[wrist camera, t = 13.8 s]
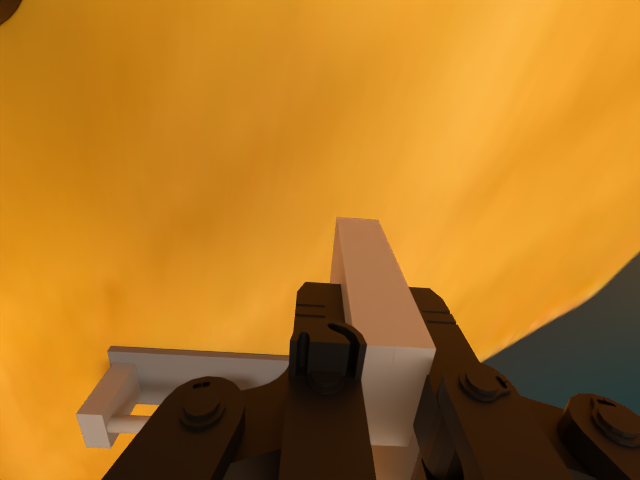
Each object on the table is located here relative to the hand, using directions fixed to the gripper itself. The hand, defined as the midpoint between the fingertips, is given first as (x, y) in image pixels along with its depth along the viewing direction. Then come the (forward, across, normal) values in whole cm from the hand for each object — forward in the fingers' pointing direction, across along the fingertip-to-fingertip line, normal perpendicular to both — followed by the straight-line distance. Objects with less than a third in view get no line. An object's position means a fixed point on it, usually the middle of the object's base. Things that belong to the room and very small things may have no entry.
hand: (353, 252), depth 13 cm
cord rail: (+26, -13, -35) cm, 46 cm away
